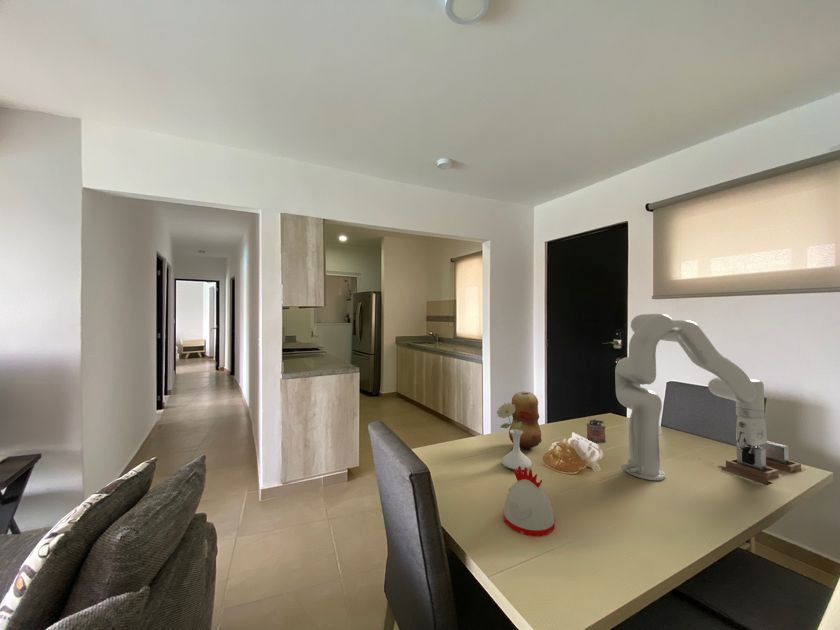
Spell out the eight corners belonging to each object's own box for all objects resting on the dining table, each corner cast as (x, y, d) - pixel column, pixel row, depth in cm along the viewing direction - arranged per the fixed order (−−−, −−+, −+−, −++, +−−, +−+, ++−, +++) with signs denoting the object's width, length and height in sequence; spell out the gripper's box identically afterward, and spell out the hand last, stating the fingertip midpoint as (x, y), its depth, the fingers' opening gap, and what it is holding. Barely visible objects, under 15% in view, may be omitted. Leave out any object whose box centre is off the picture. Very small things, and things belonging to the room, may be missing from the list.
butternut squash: (508, 452, 145) (508, 394, 145) (509, 441, 157) (509, 388, 158) (542, 455, 141) (541, 396, 141) (540, 444, 153) (540, 390, 154)
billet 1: (761, 472, 119) (760, 450, 119) (736, 465, 125) (736, 443, 126) (766, 471, 120) (765, 449, 120) (741, 463, 126) (741, 442, 127)
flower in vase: (528, 461, 135) (527, 399, 136) (535, 474, 124) (534, 406, 124) (495, 460, 137) (495, 399, 137) (499, 472, 125) (499, 406, 126)
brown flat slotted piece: (766, 485, 115) (766, 475, 115) (721, 469, 127) (721, 460, 127) (806, 473, 124) (805, 463, 124) (760, 459, 136) (760, 451, 136)
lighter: (586, 440, 159) (586, 419, 159) (586, 438, 162) (586, 417, 162) (605, 443, 155) (605, 421, 155) (605, 440, 158) (605, 419, 158)
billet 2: (784, 468, 124) (784, 447, 124) (760, 461, 131) (759, 440, 131) (789, 467, 125) (788, 446, 125) (764, 460, 132) (764, 440, 132)
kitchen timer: (515, 502, 105) (515, 454, 105) (561, 518, 96) (560, 466, 96) (495, 523, 94) (494, 469, 94) (544, 543, 85) (543, 484, 85)
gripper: (749, 417, 117) (751, 470, 116) (776, 413, 122) (777, 463, 122) (724, 412, 124) (725, 461, 123) (749, 408, 129) (750, 455, 129)
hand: (751, 462), depth 123 cm, fingers closed on billet 1, 3 cm apart
